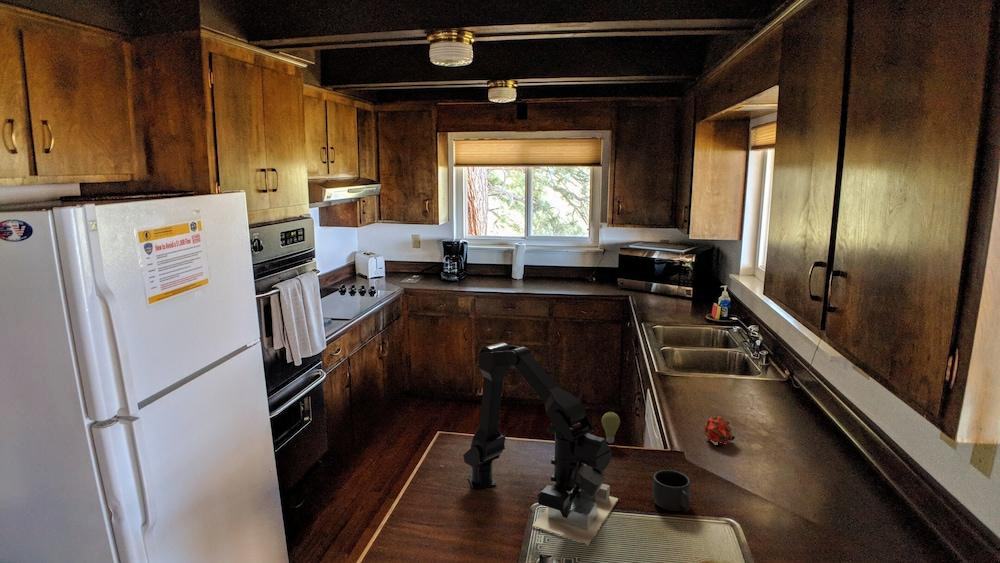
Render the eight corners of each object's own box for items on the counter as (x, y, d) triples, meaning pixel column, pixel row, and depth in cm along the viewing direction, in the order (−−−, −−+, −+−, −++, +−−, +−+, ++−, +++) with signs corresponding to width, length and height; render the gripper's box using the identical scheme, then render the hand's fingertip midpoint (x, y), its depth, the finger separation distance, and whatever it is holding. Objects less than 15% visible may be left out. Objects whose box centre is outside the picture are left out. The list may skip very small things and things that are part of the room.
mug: (645, 497, 146) (646, 472, 145) (676, 492, 149) (677, 467, 147) (671, 524, 135) (672, 496, 134) (704, 518, 137) (705, 491, 136)
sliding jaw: (558, 505, 141) (558, 492, 141) (596, 516, 137) (596, 503, 136) (547, 517, 136) (548, 503, 136) (587, 529, 131) (587, 515, 131)
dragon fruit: (712, 437, 184) (723, 460, 173) (692, 423, 183) (702, 445, 172) (731, 419, 182) (743, 441, 170) (710, 405, 181) (721, 425, 169)
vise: (567, 486, 152) (567, 472, 151) (618, 500, 145) (618, 485, 144) (532, 527, 134) (532, 511, 133) (588, 545, 127) (589, 529, 126)
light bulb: (597, 443, 177) (598, 412, 175) (607, 437, 181) (608, 407, 179) (613, 448, 173) (614, 417, 171) (622, 442, 177) (623, 412, 175)
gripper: (585, 481, 118) (583, 549, 121) (614, 446, 134) (611, 507, 137) (537, 468, 124) (536, 533, 126) (570, 436, 140) (568, 494, 142)
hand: (565, 516), depth 133 cm, fingers closed
